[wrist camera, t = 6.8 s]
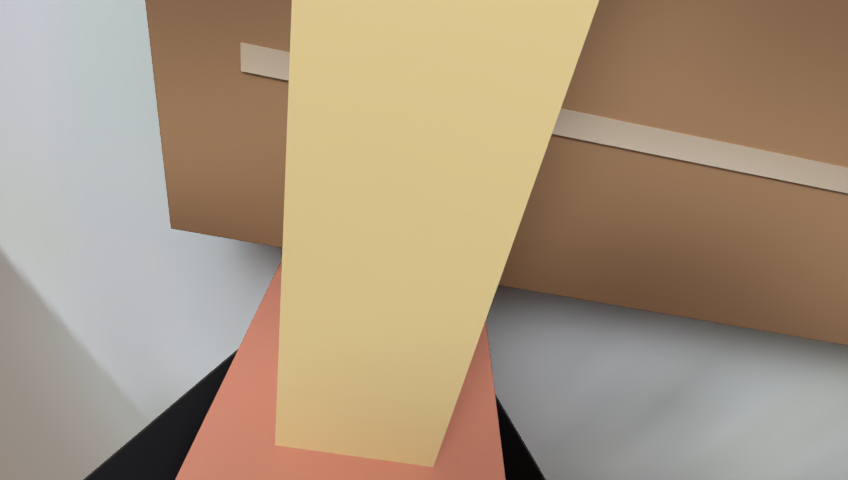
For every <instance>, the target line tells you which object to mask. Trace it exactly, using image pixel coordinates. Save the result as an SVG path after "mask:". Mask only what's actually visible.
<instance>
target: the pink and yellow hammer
mask: <svg viewBox="0 0 848 480" xmlns="http://www.w3.org/2000/svg"><path fill="white" fill-rule="evenodd" d="M598 2H599V0H292V9H291V36H290V62H289V88H288V115H287V141H286V168H285V194H284V220H283V247H282V260H281V262H280V265H279V267H278V269H277V271H276V273H275V275H274V277H273V279H272V281H271V283H270V285H269V287H268V289H267V291H266V293H265V295H264V298H263V300H262V302H261V304H260V306H259V308H258V310H257V312H256V314H255V316H254V318H253V320H252V322H251V324H250V326H249V328H248V331H247V333H246V335H245V337H244V339H243V341H242V343H241V345H240V347H239V349H238V351H237V353H236V355H235V357H234V359H233V361H232V364H231V366H230V368H229V370H228V372H227V374H226V376H225V378H224V380H223V382H222V384H221V386H220V388H219V390H218V392H217V394H216V397H215V399H214V401H213V403H212V405H211V407H210V409H209V411H208V413H207V415H206V417H205V419H204V421H203V423H202V425H201V427H200V430H199V432H198V434H197V436H196V438H195V440H194V442H193V444H192V446H191V448H190V450H189V452H188V454H187V456H186V458H185V460H184V463H183V465H182V467H181V469H180V471H179V473H178V475H177V477H176V479H175V480H506V479H505V471H504V463H503V455H502V447H501V439H500V431H499V422H498V414H497V406H496V398H495V390H494V382H493V374H492V365H491V357H490V349H489V341H488V333H487V325H486V318H487V315H488V312H489V309H490V306H491V304H492V301H493V298H494V295H495V292H496V289H497V287H498V284H499V281H500V278H501V275H502V273H503V270H504V267H505V264H506V261H507V259H508V256H509V253H510V250H511V247H512V244H513V242H514V239H515V236H516V233H517V230H518V228H519V225H520V222H521V219H522V216H523V214H524V211H525V208H526V205H527V202H528V199H529V197H530V194H531V191H532V188H533V185H534V183H535V180H536V177H537V174H538V171H539V168H540V166H541V163H542V160H543V157H544V154H545V152H546V149H547V146H548V143H549V140H550V138H551V135H552V132H553V129H554V126H555V123H556V121H557V118H558V115H559V112H560V109H561V107H562V104H563V101H564V98H565V95H566V92H567V90H568V87H569V84H570V81H571V78H572V76H573V73H574V70H575V67H576V64H577V62H578V59H579V56H580V53H581V50H582V47H583V45H584V42H585V39H586V36H587V33H588V31H589V28H590V25H591V22H592V19H593V17H594V14H595V11H596V8H597V5H598Z"/></svg>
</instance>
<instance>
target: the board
mask: <svg viewBox="0 0 848 480" xmlns="http://www.w3.org/2000/svg"><path fill="white" fill-rule="evenodd" d="M145 2H146V11H147V20H148V29H149V38H150V46H151V55H152V64H153V73H154V82H155V91H156V99H157V108H158V117H159V126H160V135H161V144H162V153H163V161H164V170H165V179H166V188H167V197H168V206H169V214H170V223H171V228H172V229H177V230H183V231H189V232H195V233H201V234H206V235H212V236H218V237H224V238H230V239H235V240H241V241H247V242H253V243H259V244H264V245H270V246H276V247H283V220H284V194H285V168H286V141H287V115H288V88H289V62H290V36H291V9H292V0H145ZM498 285H502V286H508V287H513V288H519V289H525V290H531V291H536V292H542V293H548V294H554V295H560V296H565V297H571V298H577V299H583V300H589V301H594V302H600V303H606V304H612V305H618V306H623V307H629V308H635V309H641V310H647V311H652V312H658V313H664V314H670V315H675V316H681V317H687V318H693V319H699V320H704V321H710V322H716V323H722V324H728V325H733V326H739V327H745V328H751V329H757V330H762V331H768V332H774V333H780V334H785V335H791V336H797V337H803V338H809V339H814V340H820V341H826V342H832V343H838V344H843V345H848V0H599V2H598V5H597V8H596V11H595V14H594V17H593V19H592V22H591V25H590V28H589V31H588V33H587V36H586V39H585V42H584V45H583V47H582V50H581V53H580V56H579V59H578V62H577V64H576V67H575V70H574V73H573V76H572V78H571V81H570V84H569V87H568V90H567V92H566V95H565V98H564V101H563V104H562V107H561V109H560V112H559V115H558V118H557V121H556V123H555V126H554V129H553V132H552V135H551V138H550V140H549V143H548V146H547V149H546V152H545V154H544V157H543V160H542V163H541V166H540V168H539V171H538V174H537V177H536V180H535V183H534V185H533V188H532V191H531V194H530V197H529V199H528V202H527V205H526V208H525V211H524V214H523V216H522V219H521V222H520V225H519V228H518V230H517V233H516V236H515V239H514V242H513V244H512V247H511V250H510V253H509V256H508V259H507V261H506V264H505V267H504V270H503V273H502V275H501V278H500V281H499V284H498Z"/></svg>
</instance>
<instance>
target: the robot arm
mask: <svg viewBox="0 0 848 480" xmlns="http://www.w3.org/2000/svg"><path fill="white" fill-rule="evenodd" d="M237 351H238V350H236V351H235V352H234V353H233V354H232V355H230V356H229V357H228V358H227V359H226V360H224V361H223V362H222V363H221V364H220V365H219V366H217V367H216V368H215V369H214V370H213V371H211V372H210V373H209V374H208V375H207V376H206V377H204V378H203V379H202V380H201V381H200V382H198V383H197V384H196V385H195V386H194V387H193V388H191V389H190V390H189V391H188V392H187V393H185V394H184V395H183V396H182V397H181V398H179V399H178V400H177V401H176V402H175V403H174V404H172V405H171V406H170V407H169V408H168V409H166V410H165V411H164V412H163V413H162V414H161V415H159V416H158V417H157V418H156V419H155V420H153V421H152V422H151V423H150V424H149V425H148V426H146V427H145V428H144V429H143V430H142V431H141V432H139V433H138V434H137V435H136V436H135V437H133V438H132V439H131V440H130V441H129V442H127V443H126V444H125V445H124V446H123V447H121V448H120V449H119V450H118V451H117V452H116V453H114V454H113V455H112V456H111V457H110V458H108V459H107V460H106V461H105V462H104V463H103V464H101V465H100V466H99V467H98V468H97V469H95V470H94V471H93V472H92V473H91V474H90V475H88V476H87V477H86V478H85V479H84V480H175V479H176V477H177V475H178V473H179V471H180V469H181V467H182V465H183V463H184V460H185V458H186V456H187V454H188V452H189V450H190V448H191V446H192V444H193V442H194V440H195V438H196V436H197V434H198V432H199V430H200V427H201V425H202V423H203V421H204V419H205V417H206V415H207V413H208V411H209V409H210V407H211V405H212V403H213V401H214V399H215V397H216V394H217V392H218V390H219V388H220V386H221V384H222V382H223V380H224V378H225V376H226V374H227V372H228V370H229V368H230V366H231V364H232V361H233V359H234V357H235V355H236V353H237ZM495 398H496V406H497V414H498V422H499V431H500V439H501V447H502V455H503V463H504V471H505V479H506V480H546V479H545V477H544V476H543V474H542V472H541V471H540V469H539V467H538V465H537V464H536V462H535V460H534V459H533V457H532V455H531V454H530V452H529V450H528V449H527V447H526V445H525V444H524V442H523V440H522V438H521V437H520V435H519V433H518V432H517V430H516V428H515V427H514V425H513V423H512V422H511V420H510V418H509V417H508V415H507V413H506V411H505V410H504V408H503V406H502V405H501V403H500V401H499V400H498V398H497V396H496V395H495Z"/></svg>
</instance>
